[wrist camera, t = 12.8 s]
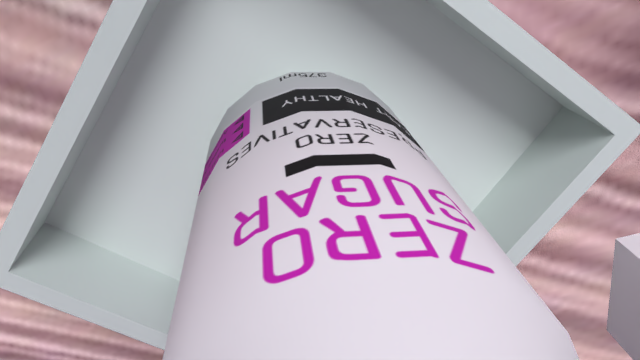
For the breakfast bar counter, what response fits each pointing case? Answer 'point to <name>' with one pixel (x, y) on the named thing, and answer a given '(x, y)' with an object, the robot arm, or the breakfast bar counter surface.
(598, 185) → the breakfast bar counter surface
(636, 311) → the robot arm
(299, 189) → the supplement can
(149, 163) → the sage bin
